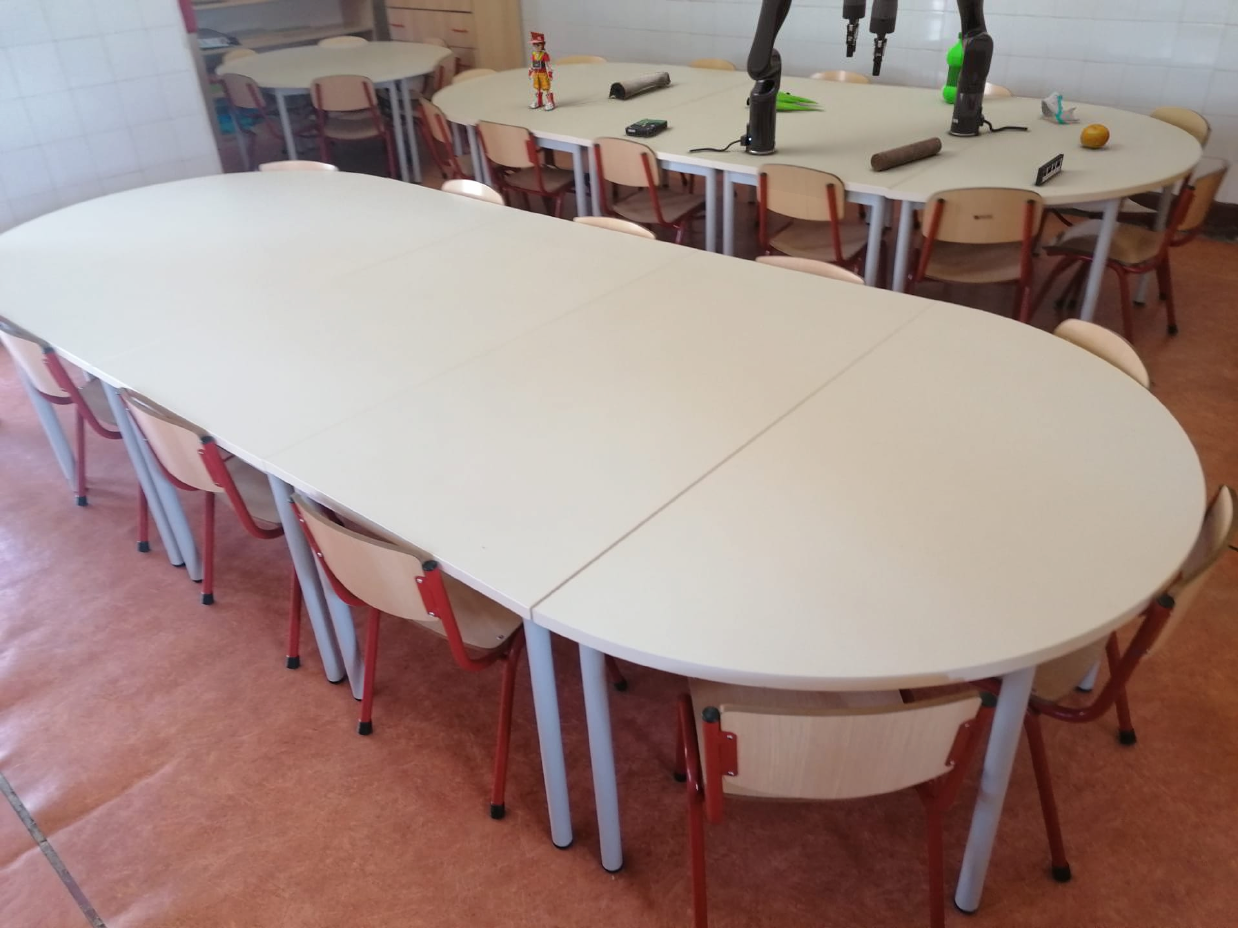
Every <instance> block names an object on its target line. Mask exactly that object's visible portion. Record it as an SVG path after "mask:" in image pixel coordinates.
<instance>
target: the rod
mask: <svg viewBox="0 0 1238 928" xmlns="http://www.w3.org/2000/svg"><path fill="white" fill-rule="evenodd" d="M942 147H943V144H942V141H941V139H940V138H939V137H937V136H933V137H930V138H929V137H928V138H926V139H922V140H918V141H915V142H911V143H908V144H904V145H902V146H897V147H894V148H891V149H887V150H883V151H880V152H875V153H874V154H872V156H871V157H870V167H871V168H872V169H873V170H874V171H877V172H880V171H882V170H886V169H889V168H893V167H896V166H899V165H903V164H906V163H909V162H913V161H916V160H919V159H923V158H926V157H931V156H933V155H936V154H938V153H940V152H941V151H942Z"/></svg>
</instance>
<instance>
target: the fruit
mask: <svg viewBox="0 0 1238 928" xmlns="http://www.w3.org/2000/svg"><path fill="white" fill-rule="evenodd" d="M1110 135H1111V134H1110V130H1109V128H1108V127H1107V126H1106V125H1103V124H1101V123H1100V124H1099V123H1098V124H1097V123H1094V124H1090V125H1088V126H1086V127H1084V128H1083V130H1082V131H1081V133H1080V137H1079V139H1080V143H1081V146H1083V147H1085V148H1089V149H1100V148H1101V147H1104V146H1105V145H1106V144H1107V143H1108V141H1109V139H1110V138H1111V137H1110Z"/></svg>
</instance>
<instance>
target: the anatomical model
mask: <svg viewBox="0 0 1238 928" xmlns="http://www.w3.org/2000/svg"><path fill="white" fill-rule="evenodd" d="M1063 99H1064V96H1063V94H1060V93H1059V92H1058V91H1051V93H1050V95H1049V96H1047V97H1044V98H1042V99H1041V102H1040V103H1041V104H1040V105H1041V107H1040V108H1041V113H1042V114H1043V115H1046V116H1047V115H1052V114H1053V115H1054V116H1055V118H1056V120H1057V122H1058V123H1059V124H1066V123H1068V122H1078V121H1080V120H1081V118H1080V117H1079V116H1078V117H1077V116H1074V115H1073V114H1074V111H1076V110H1077V109H1078V108H1077V106H1072V107H1070V108H1068V109H1064V107H1063V105H1062V100H1063Z"/></svg>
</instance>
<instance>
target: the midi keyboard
mask: <svg viewBox="0 0 1238 928" xmlns="http://www.w3.org/2000/svg"><path fill="white" fill-rule="evenodd" d="M1064 157H1065V153H1059V154H1058V155H1056V156H1055V157H1052V159H1051V160H1049V161H1047V162H1045V164H1042V165H1041V166H1039V167H1038V169H1037V175H1036V179H1035V186H1040V185H1042V183H1044V182H1045V181H1047V180H1048V179H1049V178H1051V177H1052V176H1054V175H1055V174H1056V173H1058V172H1060V171H1061V170H1062V165H1063V161H1064Z"/></svg>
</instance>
